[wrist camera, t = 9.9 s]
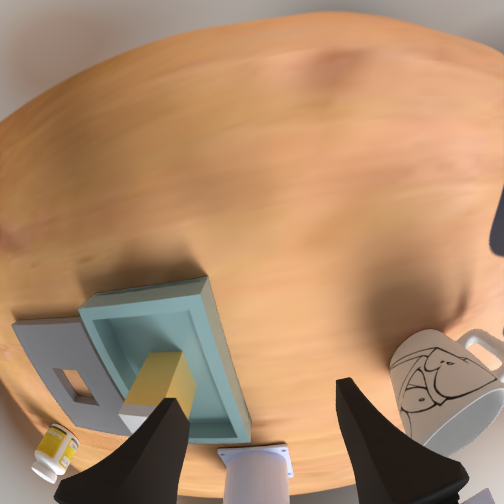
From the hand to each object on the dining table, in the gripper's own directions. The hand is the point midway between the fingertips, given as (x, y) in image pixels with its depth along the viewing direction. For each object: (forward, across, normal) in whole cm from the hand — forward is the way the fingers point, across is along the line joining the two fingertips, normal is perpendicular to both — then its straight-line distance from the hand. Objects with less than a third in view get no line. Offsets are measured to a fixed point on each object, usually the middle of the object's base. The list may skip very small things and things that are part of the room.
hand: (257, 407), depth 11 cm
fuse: (+9, +8, +5) cm, 13 cm away
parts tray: (+9, +8, +5) cm, 13 cm away
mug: (+10, -15, +8) cm, 20 cm away
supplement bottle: (+10, +34, +20) cm, 41 cm away
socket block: (+9, +21, +7) cm, 24 cm away
